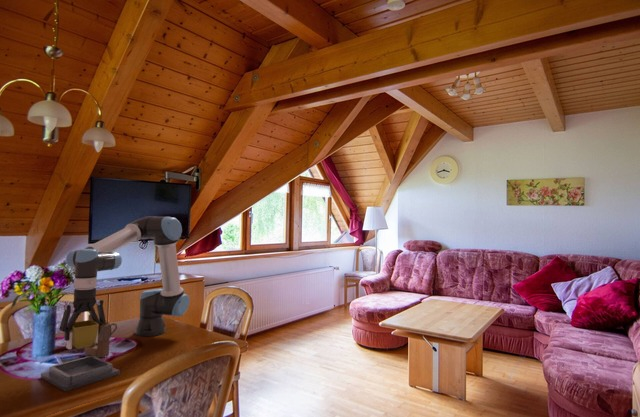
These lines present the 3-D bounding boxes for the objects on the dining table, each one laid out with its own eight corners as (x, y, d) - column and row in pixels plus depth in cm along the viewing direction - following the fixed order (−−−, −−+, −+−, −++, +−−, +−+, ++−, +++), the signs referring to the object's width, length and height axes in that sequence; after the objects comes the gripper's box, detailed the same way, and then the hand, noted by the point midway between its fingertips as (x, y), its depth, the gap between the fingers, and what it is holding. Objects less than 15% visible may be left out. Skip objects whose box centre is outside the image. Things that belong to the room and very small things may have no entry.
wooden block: (102, 358, 172) (104, 317, 173) (84, 354, 176) (86, 314, 176) (109, 355, 176) (111, 315, 176) (91, 352, 179) (93, 313, 180)
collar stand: (94, 362, 167) (94, 353, 167) (119, 374, 156) (120, 364, 156) (40, 377, 151) (41, 367, 151) (64, 391, 140) (65, 380, 140)
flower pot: (98, 346, 154) (99, 324, 154) (73, 351, 147) (74, 328, 148) (91, 341, 160) (92, 319, 160) (66, 346, 153) (67, 323, 154)
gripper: (59, 293, 143) (55, 354, 142) (117, 285, 161) (114, 340, 161) (50, 290, 147) (46, 350, 147) (107, 283, 165) (105, 337, 165)
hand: (82, 345), depth 154 cm, fingers closed on flower pot, 9 cm apart
